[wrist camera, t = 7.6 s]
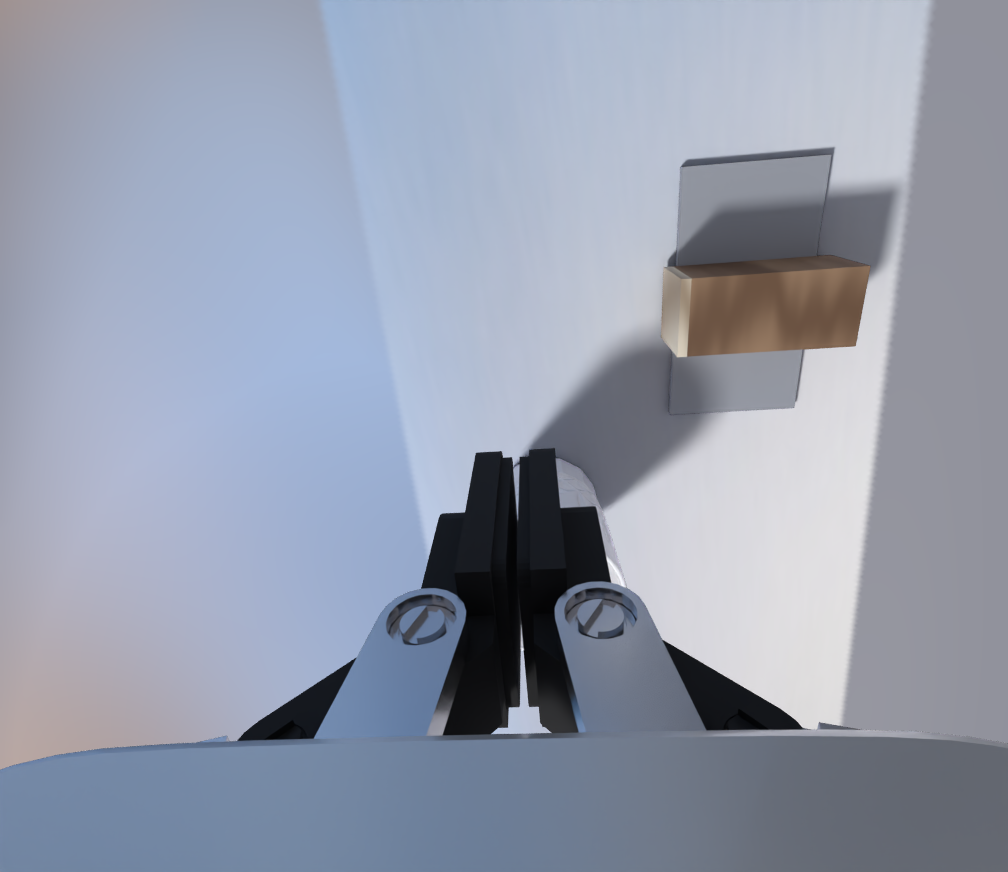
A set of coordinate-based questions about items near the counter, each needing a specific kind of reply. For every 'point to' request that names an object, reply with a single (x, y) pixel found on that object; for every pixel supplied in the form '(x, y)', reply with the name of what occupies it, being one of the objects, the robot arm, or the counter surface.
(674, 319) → the block
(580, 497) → the white cup
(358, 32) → the counter surface
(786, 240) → the mat
